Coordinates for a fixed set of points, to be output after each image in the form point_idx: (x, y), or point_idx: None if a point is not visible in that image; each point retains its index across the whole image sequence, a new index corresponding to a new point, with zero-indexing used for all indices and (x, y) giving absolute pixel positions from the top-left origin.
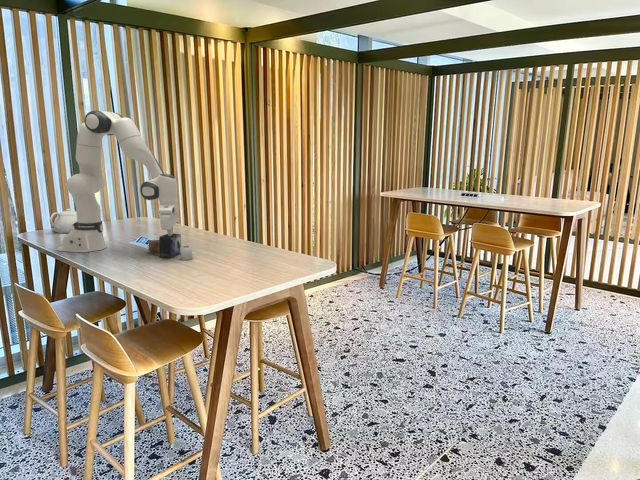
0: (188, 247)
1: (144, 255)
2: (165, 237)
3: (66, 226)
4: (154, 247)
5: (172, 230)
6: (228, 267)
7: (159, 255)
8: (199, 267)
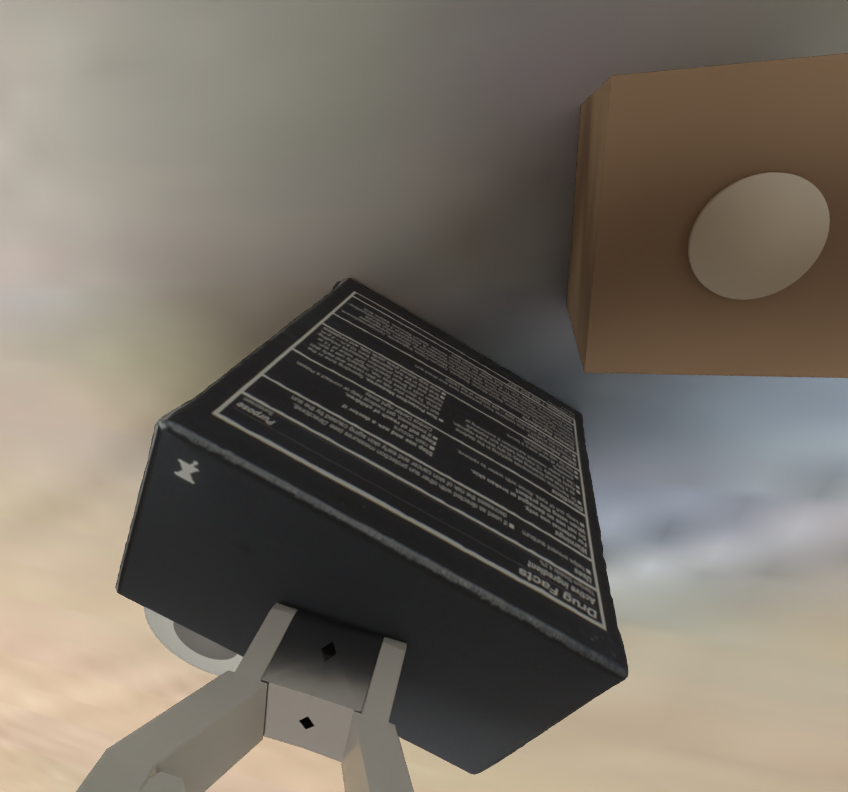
0: (187, 644)
1: (508, 27)
2: (135, 530)
3: None
4: (585, 217)
5: (347, 788)
6: (77, 689)
7: (337, 285)
8: (41, 563)
